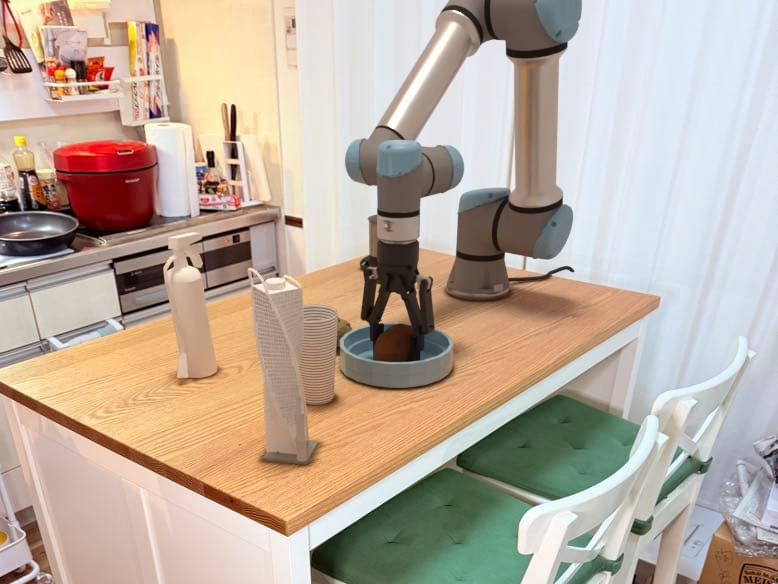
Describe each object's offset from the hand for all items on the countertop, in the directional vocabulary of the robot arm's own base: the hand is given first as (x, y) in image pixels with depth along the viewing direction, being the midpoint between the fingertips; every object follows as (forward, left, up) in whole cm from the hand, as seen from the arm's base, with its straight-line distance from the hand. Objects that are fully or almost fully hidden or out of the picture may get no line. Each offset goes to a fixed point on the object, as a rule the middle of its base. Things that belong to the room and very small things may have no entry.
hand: (396, 362), depth 149 cm
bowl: (0, 0, -1) cm, 1 cm away
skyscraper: (+38, +4, -1) cm, 38 cm away
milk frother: (-50, -37, -1) cm, 62 cm away
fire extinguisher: (+24, -30, -1) cm, 39 cm away
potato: (0, 0, -1) cm, 1 cm away
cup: (+20, -4, -1) cm, 20 cm away
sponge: (0, -22, -1) cm, 22 cm away
